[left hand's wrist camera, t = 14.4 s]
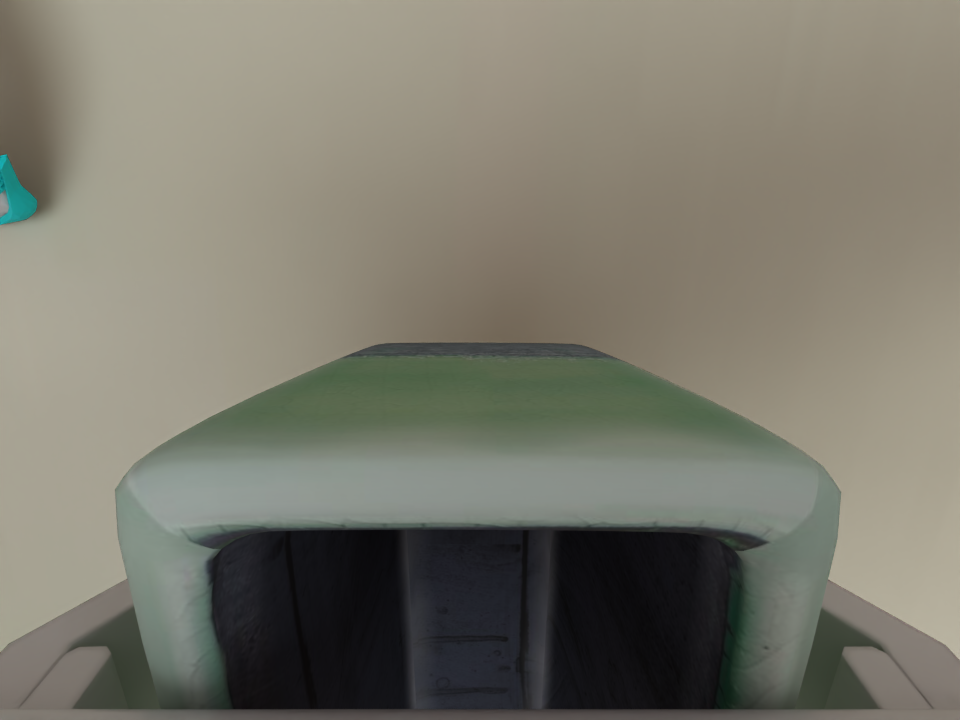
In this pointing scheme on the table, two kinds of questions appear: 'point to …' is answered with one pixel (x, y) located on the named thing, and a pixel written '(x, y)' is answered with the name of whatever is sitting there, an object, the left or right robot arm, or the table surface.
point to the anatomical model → (13, 195)
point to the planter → (477, 541)
